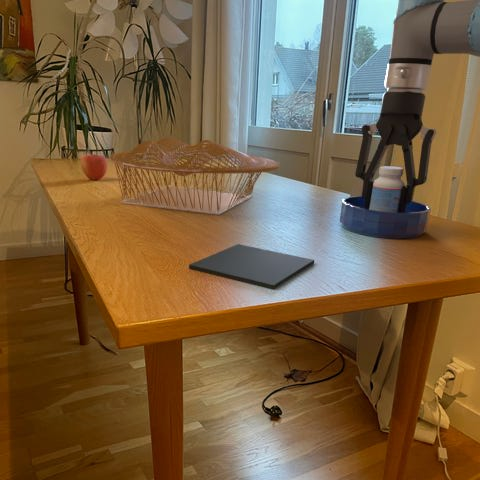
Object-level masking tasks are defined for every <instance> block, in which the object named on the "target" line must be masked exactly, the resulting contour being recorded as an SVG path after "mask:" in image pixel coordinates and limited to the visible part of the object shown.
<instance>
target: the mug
mask: <svg viewBox="0 0 480 480" xmlns="http://www.w3.org/2000/svg"><path fill="white" fill-rule="evenodd" d="M362 189H363V180H361V181H359V182H357V183H356V184H355V185H354V186H353V187H352V189H351V191H350V194H349V197H352V196H362Z"/></svg>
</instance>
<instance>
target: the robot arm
mask: <svg viewBox="0 0 480 480" xmlns="http://www.w3.org/2000/svg"><path fill="white" fill-rule="evenodd" d="M444 54H445V55H447V54H449V55H452V54H453V55H456V54H457V55H459V54H462V55H464V54H465V55H471V56H473V57H478V58H480V0H458V1H445V0H398V2H397V7H396V11H395V16H394V19H393V29H392V37H391V44H390V50H389V58H388V62H387V68H386V75H385V79H384V88H385V89H386V91H385V92H384V93H383V94H382V99H381V106H380V114H379V116H378V117H379V118H378V119H377V121H376V122H375V123H370V124H364V125H362V126H361V134H362V140H361V144H360V149H359V154H358V159H357V164H356V167H355V173H354V175H355V177H356V178H358V179H361V181H363V189H362V197H363V198H366V201H365V208H364V209H369V206H370V200H371V194H372V188H373V183H374V181H375V180H374V177H375V175H376V172H377V170H378V169H379V167H380V164H381V162H382V161H383V158H384V156H385V154H386V152H387V150H388V148H389V147H390V146H391V145H396V146H399V147H401V151H402V152H403V163H404V170H405V171H404V172H405V178H406V184H404V185H405V186H403V188H402V193H401V199H400V204H399V210H398V212H400V213H405V208H406V203H407V204H410V203H411V202H412V201H414V194H415V189H416V187H417V186H422V185H424V184H426V183H427V180H428V172H429V167H430V166H429V165H430V157H431V149H432V143H433V141H434V139H435V137H436V135H437V130H436V129H435V128H429V127H427V126H424V124H423V119H422V118H423V112H424V107H425V102H426V95H425V94H426V93H424V91H426V90H427V89H428V86H429V80H430V74H431V69H432V64H433V59H434V56H435V55H444ZM376 131H377V132H378V134H379V137H380V141H379V143H378V144H377V148H376V150H375V153H374V155H373V157H372V159H371V161H370V163H369V165H368V168H367V164H368V161H369V155H370V151H371V146H372V141H373V136H375V134H376ZM419 133H420V139H421V140H422V143H421V148H420V149H421V150H420V158H419V164H418V165H419V166H418V175H417V176H416V168H415V159H414V151H413V150H414V149H413V148H414V147H413V140H414V139H415V138H416V137H417V136H418V134H419Z"/></svg>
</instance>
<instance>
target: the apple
mask: <svg viewBox="0 0 480 480" xmlns="http://www.w3.org/2000/svg"><path fill="white" fill-rule="evenodd" d="M80 168H81V170H82V172H83V174H84V175H85V177H87V179H89V180H92V179H93V180H96V181H99V180H101V179H102V178H103V177H104V176H106V173H107V171H108V160H107V158H106V157H105V156H103V155H99V149H97V150H96V154H89V153H88V154H84V155H82V156H81V157H80Z"/></svg>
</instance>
